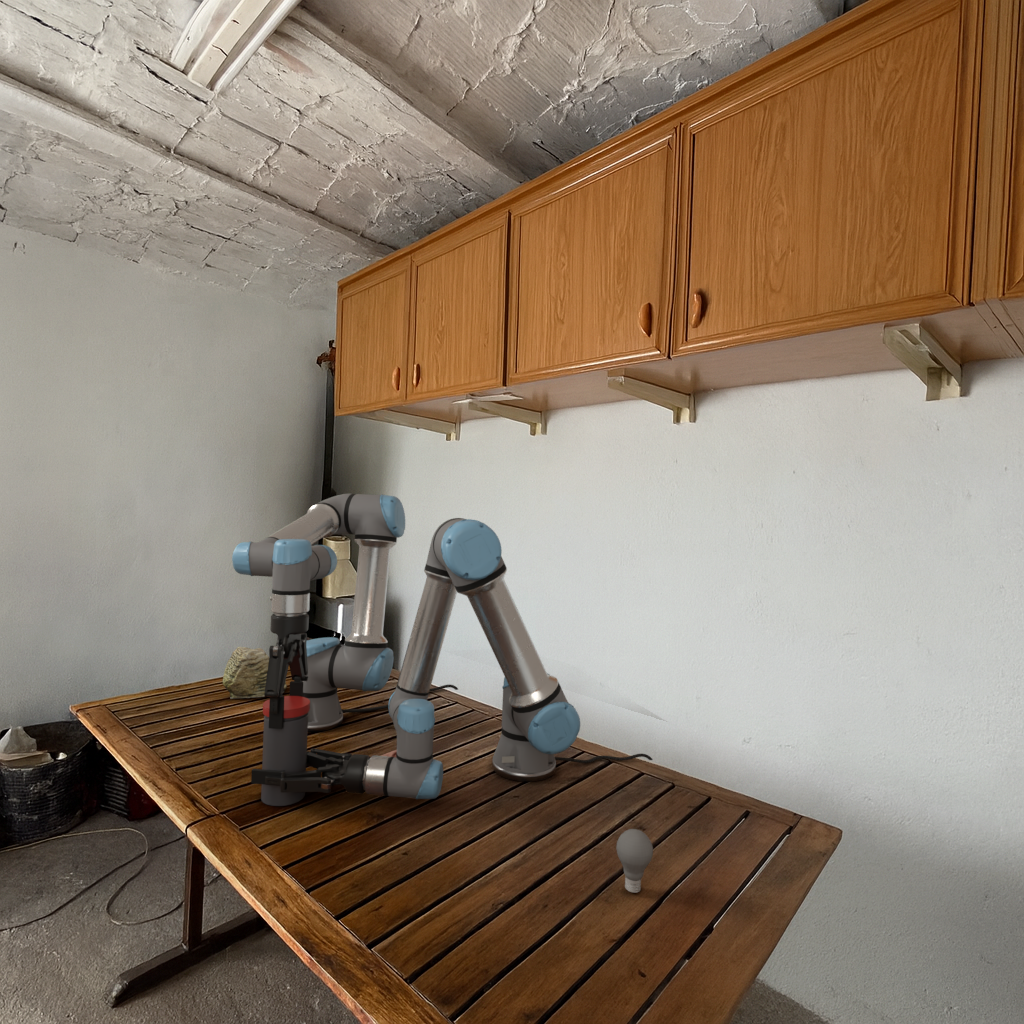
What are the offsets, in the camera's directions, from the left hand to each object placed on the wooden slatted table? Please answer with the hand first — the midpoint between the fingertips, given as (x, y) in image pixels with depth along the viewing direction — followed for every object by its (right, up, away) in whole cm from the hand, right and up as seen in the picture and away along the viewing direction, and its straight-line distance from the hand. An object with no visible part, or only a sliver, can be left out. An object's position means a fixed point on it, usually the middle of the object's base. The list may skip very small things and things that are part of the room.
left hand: (286, 719), depth 133 cm
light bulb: (+68, -20, -27) cm, 76 cm away
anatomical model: (+17, -17, +16) cm, 29 cm away
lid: (0, +3, 0) cm, 3 cm away
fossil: (-33, -14, +65) cm, 74 cm away
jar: (-1, -16, 0) cm, 16 cm away
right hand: (-5, -10, +1) cm, 11 cm away
